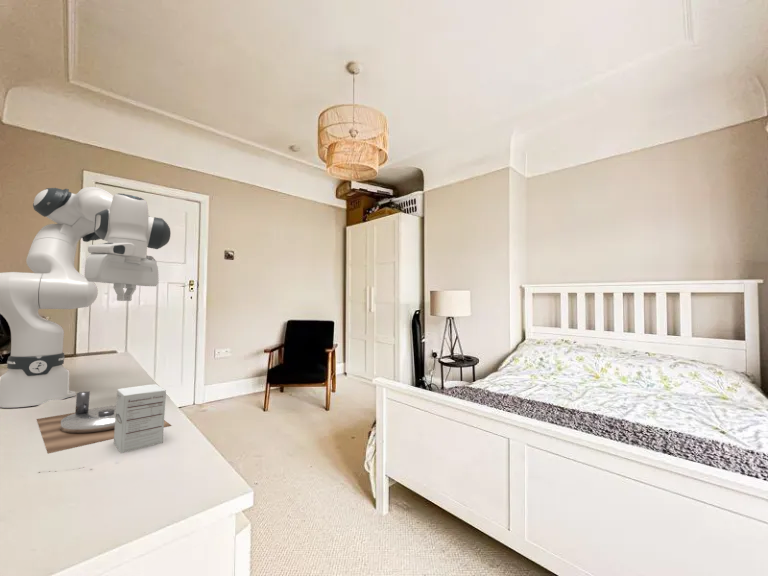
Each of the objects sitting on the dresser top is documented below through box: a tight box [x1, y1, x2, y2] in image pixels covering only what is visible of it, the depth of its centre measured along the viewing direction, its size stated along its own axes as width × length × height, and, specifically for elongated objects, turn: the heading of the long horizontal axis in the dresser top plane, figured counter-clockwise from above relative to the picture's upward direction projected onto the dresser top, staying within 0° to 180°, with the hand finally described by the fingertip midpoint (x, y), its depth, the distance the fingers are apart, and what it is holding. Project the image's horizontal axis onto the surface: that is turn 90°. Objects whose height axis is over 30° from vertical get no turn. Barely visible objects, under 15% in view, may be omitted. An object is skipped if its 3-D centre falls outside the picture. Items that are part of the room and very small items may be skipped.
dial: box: [60, 390, 116, 433], centre depth 81 cm, size 18×16×6 cm
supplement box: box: [113, 383, 167, 454], centre depth 70 cm, size 7×7×13 cm
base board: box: [36, 412, 173, 454], centre depth 81 cm, size 28×21×2 cm
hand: (124, 300), depth 92 cm, fingers closed
